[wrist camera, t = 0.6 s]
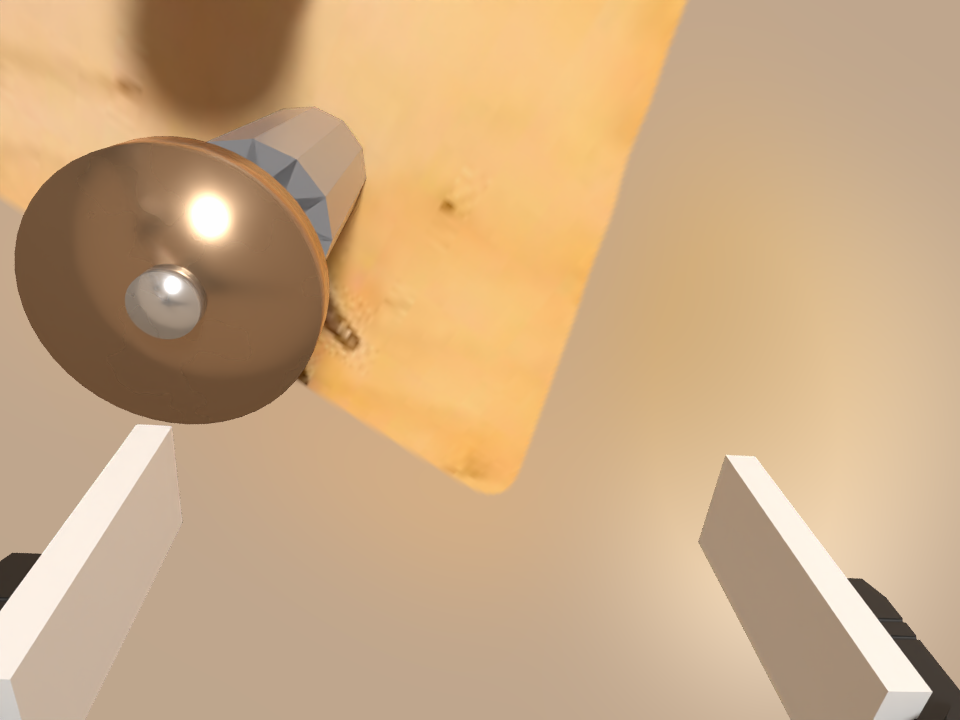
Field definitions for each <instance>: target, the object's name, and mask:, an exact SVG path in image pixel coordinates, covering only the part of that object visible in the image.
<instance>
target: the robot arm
mask: <svg viewBox="0 0 960 720" xmlns="http://www.w3.org/2000/svg"><path fill="white" fill-rule="evenodd" d="M182 523H183V522H182V512H181V503H180V494H179V485H178V476H177V466H176V458H175V448H174V439H173V430H172V426H160V425H140V424H137V425H136V426H135V428H134V429H133V430H132V431H131V433H130V434H129V436H128V437H127V438H126V440H125V441H124V442H123V444H122V445H121V447H120V448H119V449H118V451H117V452H116V453H115V455H114V456H113V457H112V459H111V460H110V462H109V463H108V464H107V466H106V467H105V468H104V470H103V471H102V472H101V474H100V475H99V477H98V478H97V479H96V481H95V482H94V483H93V485H92V486H91V488H90V489H89V490H88V492H87V493H86V494H85V496H84V497H83V498H82V500H81V501H80V503H79V504H78V505H77V507H76V508H75V509H74V511H73V512H72V514H71V515H70V516H69V518H68V519H67V520H66V522H65V523H64V525H63V526H62V527H61V529H60V530H59V531H58V533H57V534H56V536H55V537H54V538H53V539H52V541H51V542H50V544H49V545H48V547H47V548H46V549H45V550H44V552H43V553H42V554H31V553H30V554H29V553H11V554H10V555H9V556H7V557H6V558H4V559H3V560H1V561H0V720H85V719H86V717H87V714H88V713H89V711H90V709H91V707H92V704H93V702H94V700H95V698H96V696H97V694H98V692H99V690H100V688H101V686H102V684H103V682H104V680H105V678H106V676H107V674H108V672H109V670H110V668H111V666H112V664H113V662H114V660H115V658H116V656H117V654H118V652H119V650H120V648H121V646H122V644H123V642H124V639H125V638H126V636H127V634H128V632H129V630H130V627H131V626H132V624H133V621H134V620H135V618H136V616H137V614H138V612H139V610H140V608H141V605H142V603H143V601H144V599H145V597H146V595H147V593H148V591H149V589H150V587H151V585H152V583H153V581H154V579H155V577H156V575H157V573H158V571H159V569H160V567H161V565H162V563H163V561H164V559H165V557H166V555H167V553H168V551H169V549H170V547H171V545H172V543H173V541H174V539H175V537H176V535H177V533H178V530H179V529H180V527H181V525H182ZM698 542H699V544H700V546H701V548H702V550H703V552H704V554H705V556H706V558H707V559H708V561H709V563H710V565H711V567H712V569H713V571H714V573H715V575H716V577H717V579H718V581H719V582H720V585H721V587H722V588H723V590H724V592H725V594H726V596H727V598H728V600H729V602H730V604H731V606H732V607H733V610H734V612H735V613H736V615H737V617H738V619H739V621H740V623H741V625H742V627H743V629H744V631H745V633H746V635H747V637H748V638H749V640H750V642H751V644H752V646H753V648H754V650H755V652H756V654H757V656H758V658H759V660H760V662H761V663H762V665H763V667H764V669H765V671H766V673H767V675H768V677H769V679H770V681H771V683H772V685H773V687H774V688H775V690H776V692H777V694H778V696H779V698H780V700H781V702H782V704H783V706H784V708H785V710H786V711H787V713H788V715H789V717H790V719H791V720H960V690H959V689H958V688H957V686H956V685H955V684H954V682H953V681H952V680H951V679H950V677H949V676H948V675H947V674H946V672H945V671H944V670H943V669H942V667H941V666H940V665H939V664H938V663H937V661H936V660H935V659H934V657H933V656H932V655H931V654H930V652H929V651H928V650H927V649H926V647H925V646H924V645H923V644H922V642H921V641H920V640H917V639H916V635H915V634H914V632H913V631H912V630H911V629H910V627H909V626H908V625H907V624H906V623H903V621H902V617H901V616H900V615H899V613H898V612H897V611H896V610H895V608H894V607H893V606H892V605H891V603H890V602H889V601H888V600H887V598H886V597H885V596H883V595H882V594H881V593H879V592H878V591H877V590H876V589H874V588H873V587H872V586H871V585H869V584H868V583H867V582H865V581H864V580H863V579H853V578H846V576H845V575H844V574H843V572H842V571H841V570H840V569H839V567H838V566H837V565H836V563H835V562H834V561H833V559H832V558H831V557H830V555H829V554H828V553H827V551H826V550H825V549H824V547H823V546H822V545H821V543H820V542H819V541H818V539H817V538H816V537H815V535H814V534H813V533H812V531H811V530H810V529H809V527H808V526H807V525H806V523H805V522H804V521H803V519H802V518H801V517H800V515H799V514H798V513H797V511H796V510H795V509H794V507H793V506H792V505H791V504H790V502H789V501H788V499H787V498H786V497H785V496H784V495H783V493H782V492H781V490H780V489H779V488H778V486H777V485H776V484H775V482H774V481H773V480H772V478H771V477H770V476H769V474H768V473H767V472H766V470H765V469H764V468H763V466H762V465H761V464H760V462H759V461H758V460H757V459H756V457H755V456H737V455H736V456H735V455H725V458H724V462H723V465H722V468H721V471H720V474H719V478H718V481H717V484H716V487H715V490H714V494H713V497H712V500H711V503H710V506H709V509H708V513H707V516H706V519H705V522H704V525H703V528H702V532H701V535H700V538H699V541H698Z"/></svg>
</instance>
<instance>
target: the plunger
mask: <svg viewBox="0 0 960 720" xmlns="http://www.w3.org/2000/svg"><path fill="white" fill-rule="evenodd" d="M15 274H16V281H17V287H18V292H19V295H20V298H21V301H22V305H23V308H24V311H25V313H26V315H27V317H28V320H29V322H30V324H31V326H32V328H33V329H34V331H35V333H36V334H37V336H38V338H39V339H40V341H41V343H42V344H43V345H44V347H45V348H46V349H47V351H48V352H49V353H50V355H51V356H52V357H53V358H54V359H55V360H56V362H57V363H58V364H59V365H60V366H61V367H62V368H63V369H64V370H65V371H66V372H67V373H68V374H69V375H70V376H72V377H73V378H74V379H75V380H76V381H78V382H79V383H80V384H82V386H84V387H85V388H87V389H88V390H90V391H91V392H93V393H94V394H96V395H97V396H98V397H100V398H102V399H104V400H106V401H108V402H110V403H111V404H113V405H115V406H117V407H119V408H122V409H124V410H127V411H129V412H131V413H134V414H137V415H140V416H144V417H147V418H151V419H154V420H159V421H165V422H170V423H180V424H181V423H182V424H209V423H215V422H223V421H227V420H231V419H235V418H239V417H242V416H245V415H247V414H249V413H252V412H255V411H257V410H259V409H260V408H262V407H264V406H266V405H267V404H269V403H271V402H272V401H274V400H275V399H276V398H278V397H279V396H280V395H282V394H283V393H284V392H285V391H286V390H287V389H288V388H289V387H290V386H291V385H292V384H293V383H294V382H295V381H296V379H297V378H298V377H299V375H300V374H301V373H302V371H303V370H304V368H305V367H306V365H307V363H308V361H309V359H310V357H311V355H312V353H313V351H314V348H315V346H316V343H317V341H318V339H319V336H320V334H321V331H322V328H323V325H324V322H325V319H326V315H327V309H328V304H329V276H328V268H327V263H326V259H325V255H324V251H323V248H322V246H321V243H320V240H319V238H318V235H317V233H316V231H315V229H314V227H313V226H312V224H311V222H310V220H309V218H308V217H307V215H306V214H305V212H304V211H303V209H302V208H301V207H300V205H299V204H298V202H297V201H296V200H295V199H294V198H293V197H292V195H291V194H290V193H289V192H288V191H287V190H286V189H285V188H284V187H283V186H282V185H281V184H280V183H279V182H278V181H277V180H275V179H274V178H273V177H272V176H271V175H270V174H269V173H267V172H266V171H264V170H263V169H262V168H260V167H259V166H257V165H256V164H254V163H253V162H251V161H250V160H248V159H246V158H244V157H242V156H240V155H238V154H237V153H235V152H233V151H230V150H227V149H225V148H222V147H220V146H217V145H215V144H211V143H207V142H204V141H200V140H196V139H190V138H182V137H174V136H154V137H147V138H140V139H134V140H130V141H127V142H123V143H120V144H116V145H113V146H110V147H107V148H104V149H101V150H98V151H95V152H91V153H89V154H87V155H85V156H82V157H80V158H78V159H76V160H74V161H72V162H70V163H69V164H67V165H66V166H64V167H63V168H61V169H60V170H59V171H57V172H56V173H55V174H54V175H53V176H52V177H50V178H49V179H48V180H47V181H46V182H45V183H44V184H43V185H42V186H41V188H40V189H39V190H38V192H37V193H36V194H35V196H34V197H33V198H32V200H31V202H30V204H29V206H28V207H27V209H26V211H25V213H24V215H23V218H22V221H21V224H20V227H19V231H18V234H17V240H16V247H15Z"/></svg>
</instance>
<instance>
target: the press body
mask: <svg viewBox="0 0 960 720" xmlns="http://www.w3.org/2000/svg"><path fill="white" fill-rule="evenodd" d="M207 143H211V144H215V145H217V146H220V147H222V148H225V149H227V150H230V151H233V152H235V153H237V154H238V155H240V156H242V157H244V158H246V159H248V160H250V161H251V162H253V163H254V164H256V165H257V166H259V167H260V168H262V169H263V170H264V171H266V172H267V173H269V174H270V175H271V176H272V177H273V178H274V179H275V180H277V181H278V182H279V183H280V184H281V185H282V186H283V187H284V188H285V189H286V190H287V191H288V192H289V193H290V194H291V195H292V197H293V198H294V199H295V200H296V201H297V202H298V204H299V205H300V207H301V208H302V209H303V211H304V212H305V214H306V215H307V217H308V218H309V220H310V222H311V224H312V226H313V227H314V229H315V231H316V233H317V235H318V238H319V240H320V243H321V246H322V248H323V251H324V255H325V259H327V257H328V256H329V254H330V252H331V250H332V248H333V246H334V244H335V242H336V240H337V238H338V236H339V235H340V233H341V231H342V229H343V227H344V225H345V223H346V221H347V219H348V217H349V215H350V213H351V212H352V210H353V208H354V206H355V203H356V201H357V199H358V196H359V194H360V192H361V189H362V187H363V184H364V182H365V180H366V173H365V165H364V157H363V150H362V146H361V145H360V144H359V142H358V141H357V140H356V138H355V137H354V135H353V134H352V133H351V131H350V130H349V128H348V127H347V126H346V124H345V123H344V121H342V120H340V119H338V118H336V117H334V116H332V115H330V114H328V113H326V112H324V111H322V110H320V109H318V108H316V107H303V108H289V109H282V110H279V111H277V112H275V113H272V114H270V115H268V116H265V117H263V118H261V119H259V120H256V121H254V122H252V123H249V124H247V125H245V126H242V127H240V128H238V129H235V130H233V131H231V132H229V133H226V134H224V135H222V136H219V137H217V138H215V139H212V140H210V141H208V142H207Z"/></svg>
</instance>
